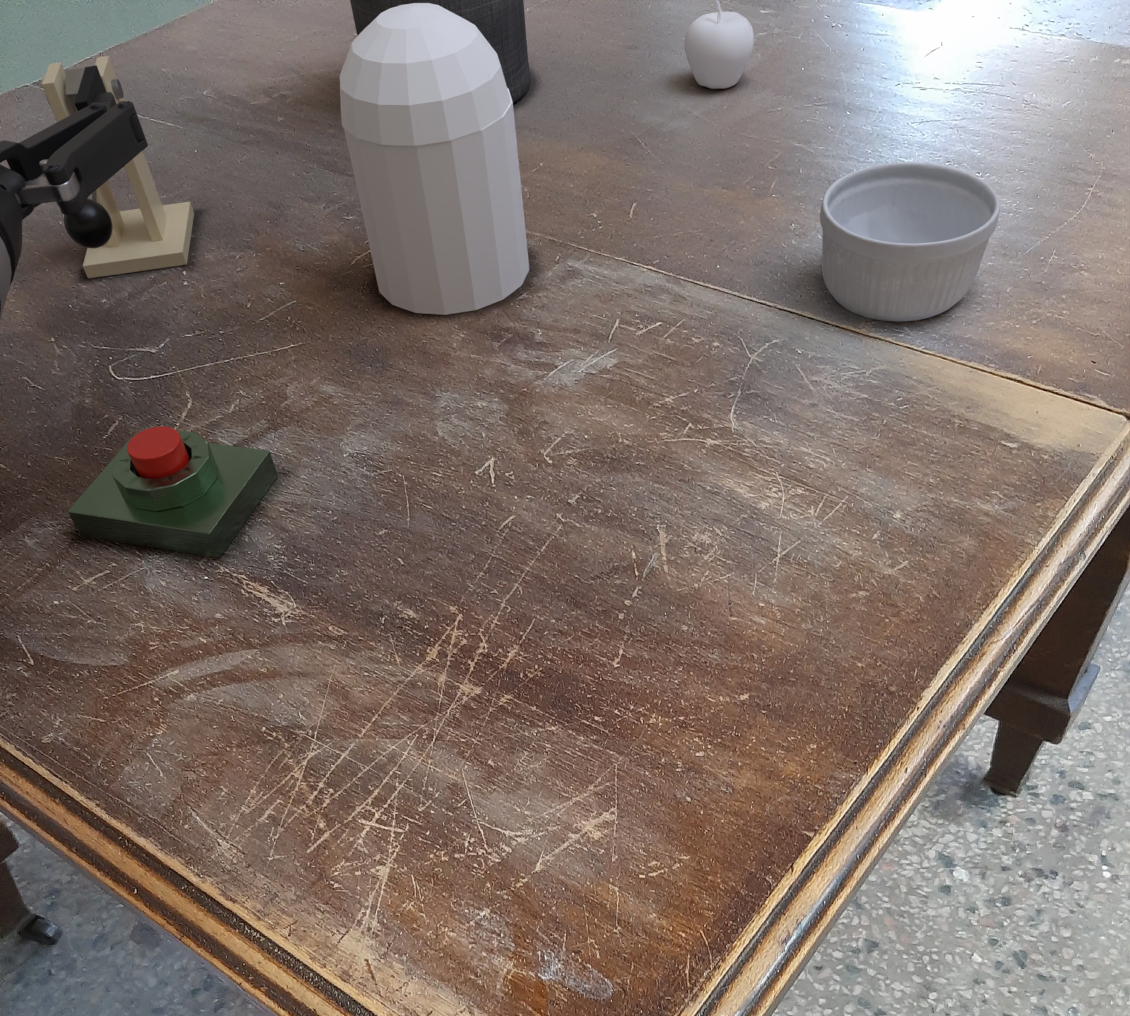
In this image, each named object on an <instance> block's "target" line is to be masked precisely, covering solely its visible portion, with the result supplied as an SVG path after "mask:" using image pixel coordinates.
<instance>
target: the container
mask: <svg viewBox="0 0 1130 1016" xmlns="http://www.w3.org/2000/svg"><path fill="white" fill-rule="evenodd" d="M346 54H347V55H346V58H345V60H344V63H343V66H342V68H341V71H340V74H339V96H340V97H339V98H340V99H339V100H340V101H339V102H340V121H341V127H342V128H343V132H344V136H345V141H346V145H347V149H348V154H349V159H350V163H351V168H352V173H353V177H354V182H355V185H356V191H357V196H358V200H359V201H358V202H359V205H360V209H361V215H362V218H363V223H364V228H365V233H366V237H367V241H368V247H369V252H370V256H371V259H372V260H371V261H372V265H373V269H374V274H375V278H376V284H377V288H378V292H379V294H380V295H382V297H384V298H385V300H387V302H389V303H390V304H391V305H392V306H395V307H397V308H399V309H403V310H406V311H409V312H412V313H415V314H426V315H427V314H428V315H439V316H440V315H441V316H447V315H453V314H454V315H455V314H459V313H467V312H473V311H477V310H480V309H483V308H485V307H488V306H491V305H493V304H496V303H498V302H501V301H503V300H505V299H506V298H507V297H509V296H510V295H511V294H513V293H514V292H516V291H517V290H518V289H520V287H522V286H523V284H524V282H525V280H526V278H527V276H528V274H529V272H530V260H529V252H528V242H527V241H528V240H527V232H526V231H527V230H526V221H525V213H524V212H525V211H524V201H523V191H522V181H521V172H520V162H519V152H518V142H517V132H516V122H515V112H514V103H513V101H512V98H511V95H510V92H509V89H508V88H507V86H506V82H505V79H504V75H503V72H502V68H501V65H500V62H499V58H498V55H497V53H496V52H495V50H494V49H493V48H492V47H491V45H490V44H489V43H488V41H487V40H486V39H485V37H484V36H483V35H482V33H481V32H480V31H479V30H478V28H477V27H476V26H475V25H474V24H472V23H471V22H469V21H467V20H465V19H464V18H462V17H460V16H458V15H456V14H454V13H452V12H450V11H448V10H447V9H445V8H443V7H441V6H439V5H435V4H430V3H412V4H405V5H400V6H396V7H393V8H390V9H388V10H386V11H384V12H382V13H380V14H379V15H378V16H377V17H376V18H375V19H374V20H373V21H372V22H371V23H370V24H369V25H368V26H367V27H366V28H365V29H364V30H363V31H362V32H361V33H360V34H359V35H358V36H357V35H356V37H355V38H354V39H353V41H351V43H350V46H349V50H348V52H347V53H346Z"/></svg>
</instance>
